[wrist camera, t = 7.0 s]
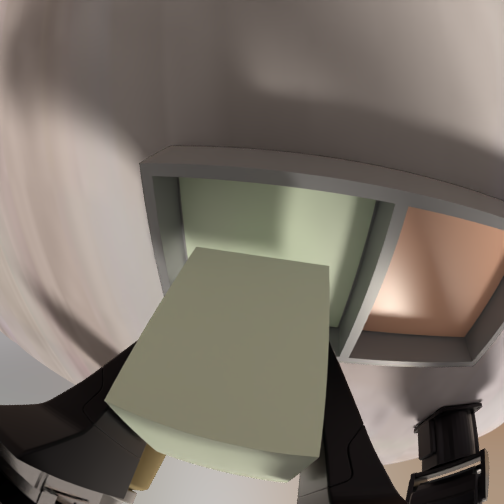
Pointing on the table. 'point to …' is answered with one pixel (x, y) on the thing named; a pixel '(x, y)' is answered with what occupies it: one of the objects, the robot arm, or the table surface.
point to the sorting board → (344, 244)
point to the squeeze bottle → (139, 476)
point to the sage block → (233, 366)
